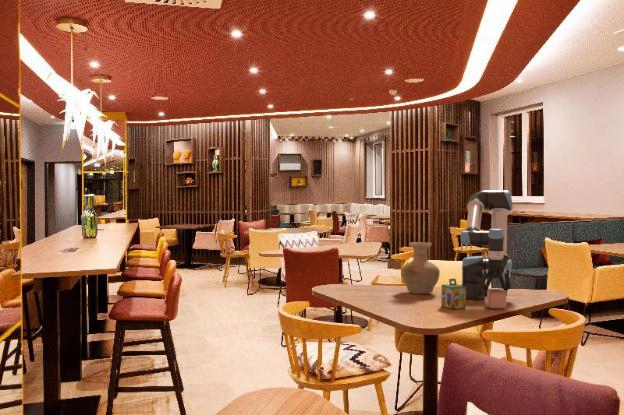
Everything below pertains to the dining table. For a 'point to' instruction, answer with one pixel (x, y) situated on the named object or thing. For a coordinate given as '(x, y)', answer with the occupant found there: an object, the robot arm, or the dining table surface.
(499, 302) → the terracotta cube
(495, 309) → the stud
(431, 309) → the dining table surface
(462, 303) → the chalk box
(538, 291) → the dining table surface
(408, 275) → the vase
